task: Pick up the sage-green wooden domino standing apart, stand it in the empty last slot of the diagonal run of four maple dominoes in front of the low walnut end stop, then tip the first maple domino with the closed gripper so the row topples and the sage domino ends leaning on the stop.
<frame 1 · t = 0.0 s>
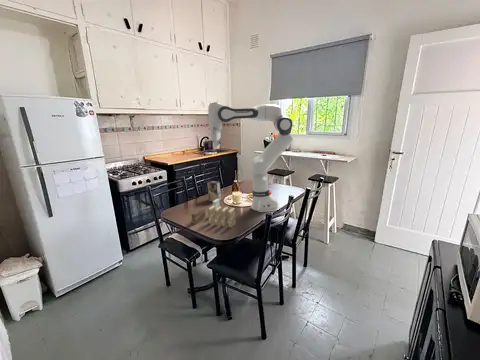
hand: (216, 146, 167), 48 cm above the table, fingers open, 8 cm apart
maple domino 2: (225, 224, 153), on the table
coffee box: (215, 200, 198), on the table
maple domino 3: (219, 223, 155), on the table
sage domino: (216, 214, 168), on the table
maple domino 1: (232, 225, 151), on the table
maple domino 4: (212, 222, 156), on the table
end stop: (199, 220, 160), on the table
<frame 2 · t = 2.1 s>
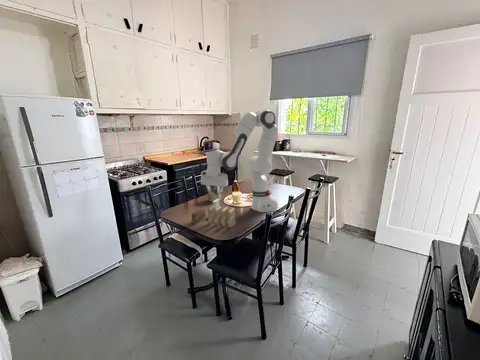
hand: (214, 191, 164), 18 cm above the table, fingers open, 8 cm apart
nothing on the table moved.
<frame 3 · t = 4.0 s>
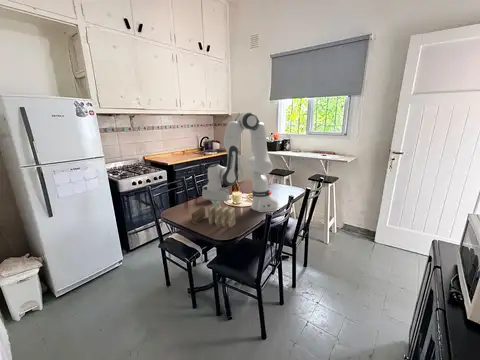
hand: (216, 205, 167), 7 cm above the table, fingers closed on sage domino, 2 cm apart
sage domino: (216, 214, 168), on the table, touching gripper
everything else where it was.
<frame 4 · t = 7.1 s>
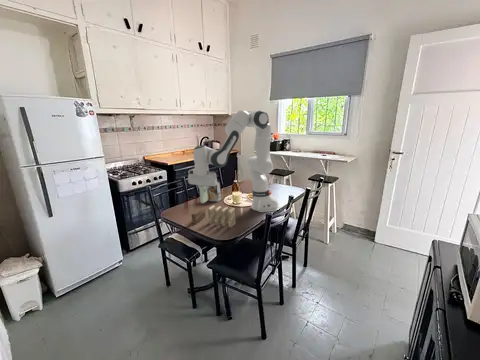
hand: (203, 191, 153), 21 cm above the table, fingers closed on sage domino
sage domino: (204, 201, 155), point 14 cm above the table, touching gripper
everything else where it was.
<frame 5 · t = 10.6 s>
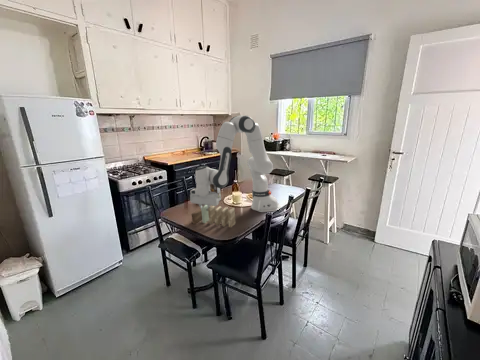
hand: (205, 210, 156), 8 cm above the table, fingers open, 3 cm apart
sage domino: (206, 221, 158), on the table
everything else where it was.
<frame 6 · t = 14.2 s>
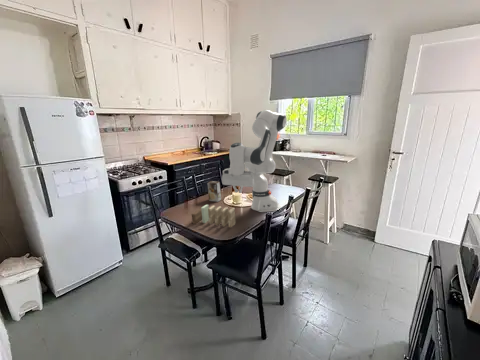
hand: (238, 192, 143), 23 cm above the table, fingers closed
nothing on the table moved.
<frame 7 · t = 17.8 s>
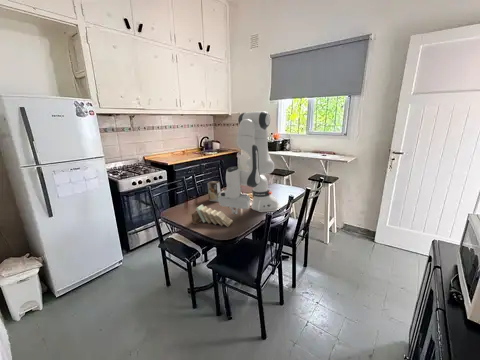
hand: (234, 213, 148), 9 cm above the table, fingers closed
maple domino 2: (224, 223, 153), point 1 cm above the table, tilted 53°, touching maple domino 1, maple domino 3
maple domino 3: (218, 222, 155), point 1 cm above the table, tilted 46°, touching maple domino 2, maple domino 4
sage domino: (206, 220, 158), point 1 cm above the table, tilted 28°, touching end stop, maple domino 4
maple domino 1: (230, 224, 151), point 1 cm above the table, tilted 56°, touching maple domino 2
maple domino 4: (212, 221, 156), point 1 cm above the table, tilted 37°, touching maple domino 3, sage domino
everything else where it was.
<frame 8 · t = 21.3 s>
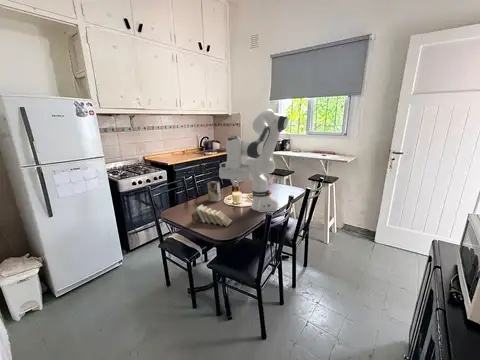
hand: (235, 186, 142), 27 cm above the table, fingers closed
at the end: sage domino tilted 27°; sage domino inside the target area (0.5 cm from its centre), point 0.5 cm above the table; maple domino 4 tilted 37° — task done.
